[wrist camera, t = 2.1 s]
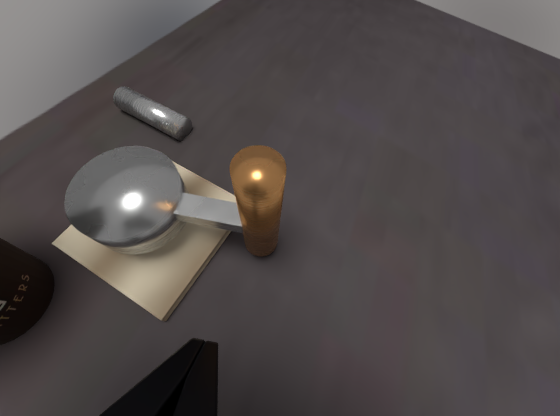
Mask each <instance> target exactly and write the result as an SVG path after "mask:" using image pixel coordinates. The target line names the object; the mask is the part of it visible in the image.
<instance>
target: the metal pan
mask: <svg viewBox="0 0 560 416" xmlns="http://www.w3.org/2000/svg"><path fill="white" fill-rule="evenodd" d="M230 174H231V179H232V184H233V189H234V193H235V198H236V203H235V202H230V201H225V200H219V199H214V198H209V197H203V196H198V195H193V194H189V192H188V190H187V188H186V186H185V184H184V182H183V180H182V178H181V176H180V174H179V172H178V170H177V168H176V166H175V165H174V163H173V162H172V161H171V159H169V158H168V157H167V156H166V155H165V154H163V153H162V152H160V151H158V150H155V149H152V148H149V147H143V146H126V147H120V148H116V149H112V150H110V151H107V152H104V153H102V154H100V155H98V156H97V157H95V158H93V159H92V160H90V161H89V162H88V163H86V164H85V165H84V166H83V167H82V168H81V169H80V170H79V171H78V172H77V173H76V175H75V176H74V177H73V179H72V180H71V182H70V184H69V186H68V188H67V191H66V195H65V203H64V204H65V211H66V215H67V217H68V219H69V221H70V223H71V224H72V225H73V226H74V227H75V228H76V229H77V230H78V231H79V232H81V233H83V234H84V235H86V236H88V237H89V238H91V239H93V240H95V241H96V242H98V243H100V244H101V245H103V246H105V247H107V248H108V249H110V250H112V251H114V252H117V253H121V254H127V255H137V254H144V253H148V252H151V251H154V250H156V249H159V248H161V247H163V246H164V245H166V244H167V243H169V242H170V241H171V240H173V239H174V238H175V237H176V236H177V235H178V234H179V233H180V231H181V230H182V229H183V227H184V226H185V224H186V222H187V223H192V224H198V225H203V226H208V227H213V228H218V229H224V230H229V231H234V232H239V233H243V236H244V241H245V245H246V248H247V250H248V251H249V252H250V253H251V254H253V255H255V256H266V255H269V254H270V253H272V252H273V251H274V250H275V248H276V246H277V241H278V233H279V225H280V217H281V209H282V201H283V192H284V184H285V176H286V163H285V160H284V159H283V157H282V156H281V155H280V154H279V153H278V152H277V151H276V150H274V149H272V148H270V147H267V146H261V145H256V146H249V147H246V148H244V149H242V150H240V151H239V152H238V153H237V154H236V155H235V156H234V157H233V159H232V161H231V163H230Z"/></svg>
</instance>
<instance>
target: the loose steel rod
mask: <svg viewBox="0 0 560 416" xmlns="http://www.w3.org/2000/svg"><path fill="white" fill-rule="evenodd" d="M113 100H114V104H115V105H116V107H118V108H119V109H121V110H123V111H125V112H127V113H129V114H130V115H132V116H134V117H136V118H138V119H140V120H142V121H144V122H145V123H147V124H149V125H151V126H153V127H155V128H157V129H159V130H161V131H162V132H164V133H166V134H168V135H170V136H172V137H174V138H176V139H177V140H180V141H182V140H183V139H184V138H185V137H186V136H187V135H188V134H189V133H190V132H191V129H192V122H191V120H190V119H189V118H187V117H185V116H183V115H181V114H179V113H177V112H175V111H173V110H171V109H169V108H167V107H166V106H164V105H162V104H160V103H158V102H156V101H154V100H152V99H150V98H148V97H146V96H144V95H142V94H140V93H138V92H136V91H134V90H132V89H130V88H128V87H120V88H118V89H117V90H116V91H115V93H114V97H113Z"/></svg>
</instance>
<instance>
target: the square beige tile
mask: <svg viewBox="0 0 560 416" xmlns="http://www.w3.org/2000/svg"><path fill="white" fill-rule="evenodd" d="M172 162H173V161H172ZM173 163H174V165H175V166H176V168H177V170H178V172H179V174H180V176H181V178H182V180H183V182H184V184H185V186H186V188H187V190H188V192H189V194H193V195H198V196H203V197H209V198H214V199H219V200H225V201H230V202H235V203H236V198H235V196H234V195H232V194H231V193H229V192H227V191H225V190H223V189H222V188H220V187H218V186H216V185H214V184H212V183H211V182H209V181H207V180H205V179H203V178H202V177H200V176H198V175H196V174H194V173H193V172H191V171H189V170H187V169H185V168H184V167H182V166H180V165H178V164H176V163H175V162H173ZM230 232H231V231H229V230H224V229H218V228H213V227H208V226H203V225H198V224H192V223H187V222H186V224H185V226H184V227H183V229H182V230H181V231H180V233H179V234H178V235H177V236H176V237H175V238H174V239H173V240H171V241H170V242H169V243H167V244H166V245H164V246H163V247H161V248H159V249H156V250H154V251H151V252H148V253H144V254H137V255H127V254H121V253H117V252H114V251H112V250H110V249H108V248H107V247H105V246H103V245H101V244H100V243H98V242H96V241H95V240H93V239H91V238H89V237H88V236H86V235H84V234H83V233H81V232H79V231H78V230H77V229H76V228H75V227H74V226H73V225H70V226H69V227H68V228H67V229H66V230H65V231H64V232H63V233H62V234H61V235H60V236H59V237H58V238H57V239H56V240H55V241H54V242H53V243H52V244H53V245H55V246H56V247H58V248H59V249H60V250H62V251H63V252H65V253H66V254H67V255H69V256H70V257H72V258H73V259H75V260H76V261H77V262H79V263H80V264H82V265H83V266H85V267H86V268H87V269H89V270H90V271H92V272H93V273H94V274H96V275H97V276H99V277H100V278H102V279H103V280H104V281H106V282H107V283H109V284H110V285H112V286H113V287H114V288H116V289H117V290H119V291H120V292H121V293H123V294H124V295H126V296H127V297H129V298H130V299H131V300H133V301H134V302H136V303H137V304H139V305H140V306H141V307H143V308H144V309H146V310H147V311H148V312H150V313H151V314H153V315H154V316H156V317H157V318H158V319H160V320H161V321H167V319H168V318H169V316H170V315H171V314H172V312H173V311H174V310H175V308H176V307H177V305H178V304H179V303H180V301H181V300H182V299H183V297H184V296H185V294H186V293H187V292H188V290H189V289H190V287H191V286H192V285H193V283H194V282H195V281H196V279H197V278H198V276H199V275H200V274H201V272H202V271H203V270H204V268H205V267H206V265H207V264H208V263H209V261H210V260H211V258H212V257H213V256H214V254H215V253H216V252H217V250H218V249H219V247H220V246H221V245H222V243H223V242H224V241H225V239H226V238H227V236H228V235H229V234H230Z"/></svg>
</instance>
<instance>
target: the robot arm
mask: <svg viewBox="0 0 560 416" xmlns="http://www.w3.org/2000/svg"><path fill="white" fill-rule="evenodd" d="M217 404H218V343H216V342H211V341H206V342H205V341H204V340H202V339H197V338H192V339H191V340H189V341H188V342H187V343H186V344H185V345H183V346H182V347H181V348H180V349H179V350H177V351H176V352H175V353H174V354H173V355H171V356H170V357H169V358H168V359H167V360H165V361H164V362H163V363H162V364H161V365H159V366H158V367H157V368H156V369H155V370H153V371H152V372H151V373H150V374H149V375H147V376H146V377H145V378H144V379H143V380H141V381H140V382H139V383H138V384H137V385H135V386H134V387H133V388H132V389H131V390H129V391H128V392H127V393H126V394H125V395H123V396H122V397H121V398H120V399H119V400H117V401H116V402H115V403H114V404H113V405H111V406H110V407H109V408H108V409H107V410H105V411H104V412H103V413H102V414H100V415H99V416H217Z"/></svg>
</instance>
